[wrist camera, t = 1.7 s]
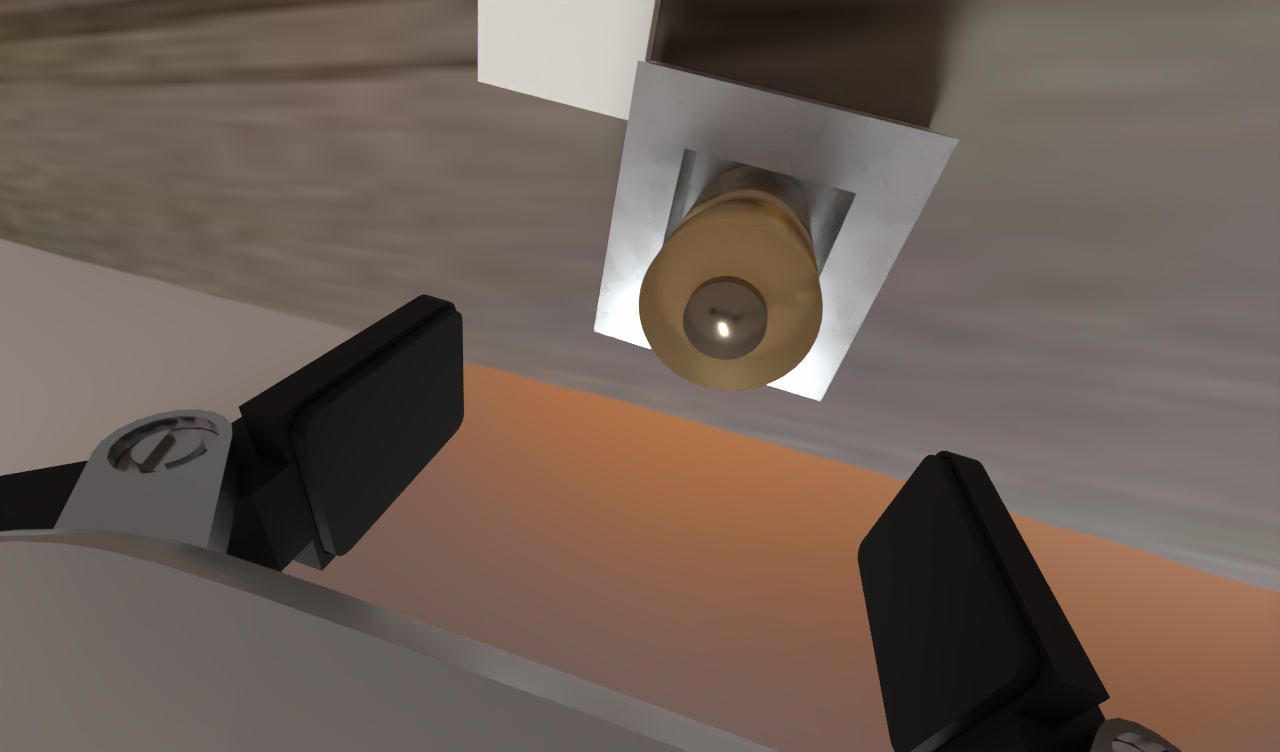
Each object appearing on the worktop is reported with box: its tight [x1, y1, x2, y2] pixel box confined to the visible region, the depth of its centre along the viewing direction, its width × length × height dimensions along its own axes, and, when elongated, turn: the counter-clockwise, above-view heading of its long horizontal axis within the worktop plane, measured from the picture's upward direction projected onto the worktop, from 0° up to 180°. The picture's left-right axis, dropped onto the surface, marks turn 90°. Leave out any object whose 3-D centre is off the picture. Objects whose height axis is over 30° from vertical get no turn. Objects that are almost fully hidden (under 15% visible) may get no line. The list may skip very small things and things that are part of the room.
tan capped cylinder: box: [639, 166, 823, 391], centre depth 18 cm, size 5×5×11 cm
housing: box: [594, 61, 959, 401], centre depth 21 cm, size 12×11×6 cm
